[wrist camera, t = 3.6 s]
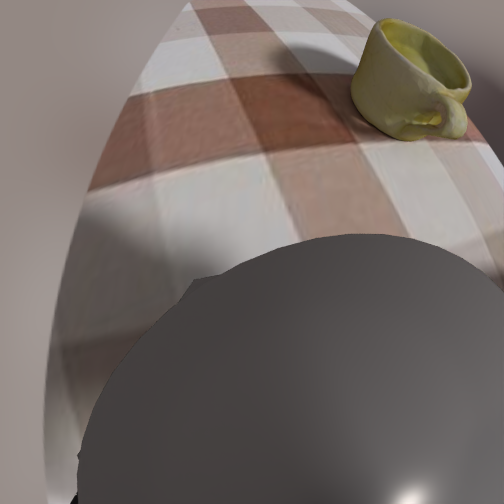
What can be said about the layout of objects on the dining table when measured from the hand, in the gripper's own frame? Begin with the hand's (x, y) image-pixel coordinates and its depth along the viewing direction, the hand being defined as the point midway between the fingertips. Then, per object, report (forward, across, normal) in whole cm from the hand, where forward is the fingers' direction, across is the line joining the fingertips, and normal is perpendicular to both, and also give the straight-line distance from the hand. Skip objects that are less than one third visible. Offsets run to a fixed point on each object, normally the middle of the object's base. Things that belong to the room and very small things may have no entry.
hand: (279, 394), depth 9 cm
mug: (+17, -17, -7) cm, 25 cm away
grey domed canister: (+4, 0, +6) cm, 7 cm away
